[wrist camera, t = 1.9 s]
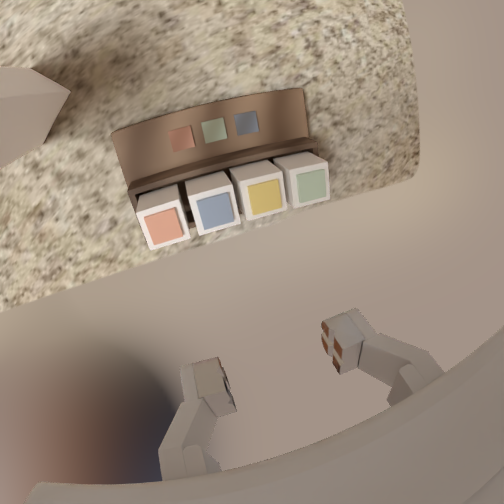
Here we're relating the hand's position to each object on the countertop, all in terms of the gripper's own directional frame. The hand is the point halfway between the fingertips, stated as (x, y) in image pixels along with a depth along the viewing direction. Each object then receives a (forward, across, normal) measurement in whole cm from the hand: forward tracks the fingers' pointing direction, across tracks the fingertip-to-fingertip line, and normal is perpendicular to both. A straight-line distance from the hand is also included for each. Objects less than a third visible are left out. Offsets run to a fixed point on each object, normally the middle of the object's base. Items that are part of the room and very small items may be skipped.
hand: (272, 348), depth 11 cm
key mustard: (+17, -4, 0) cm, 18 cm away
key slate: (+17, 0, 0) cm, 17 cm away
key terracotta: (+17, +4, 0) cm, 18 cm away
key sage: (+17, -8, 0) cm, 19 cm away
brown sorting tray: (+21, -2, -2) cm, 21 cm away
